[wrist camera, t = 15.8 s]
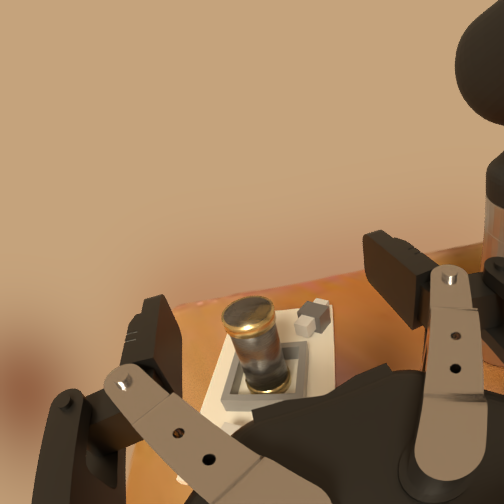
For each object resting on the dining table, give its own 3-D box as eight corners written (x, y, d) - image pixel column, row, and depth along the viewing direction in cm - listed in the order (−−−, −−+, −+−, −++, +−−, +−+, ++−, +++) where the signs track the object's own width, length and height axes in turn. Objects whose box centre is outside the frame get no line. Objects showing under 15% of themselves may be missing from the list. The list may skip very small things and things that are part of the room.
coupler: (293, 365, 34) (276, 293, 30) (289, 398, 30) (270, 326, 26) (252, 367, 35) (228, 298, 31) (244, 399, 31) (215, 330, 27)
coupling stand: (332, 310, 43) (330, 289, 41) (332, 493, 20) (331, 479, 19) (235, 319, 46) (229, 299, 45) (180, 483, 24) (164, 468, 22)
